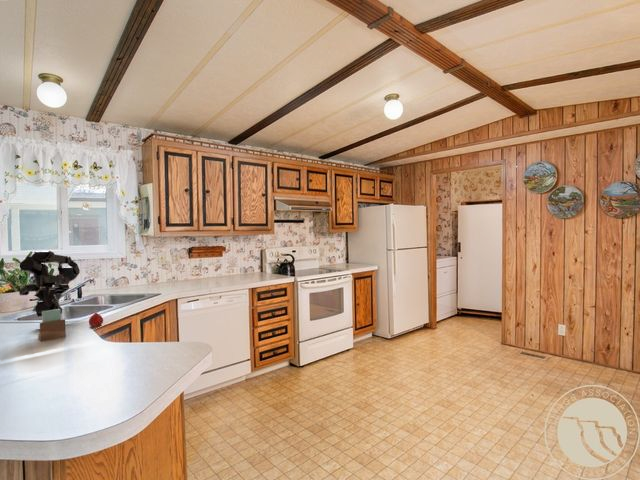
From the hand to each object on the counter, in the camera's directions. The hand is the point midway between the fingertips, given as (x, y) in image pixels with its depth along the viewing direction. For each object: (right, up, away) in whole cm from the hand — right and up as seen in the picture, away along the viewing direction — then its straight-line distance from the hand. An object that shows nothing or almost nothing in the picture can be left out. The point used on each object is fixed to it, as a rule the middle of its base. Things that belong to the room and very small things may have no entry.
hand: (49, 305), depth 159 cm
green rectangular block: (+9, -12, -10) cm, 18 cm away
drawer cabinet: (+6, -13, -7) cm, 16 cm away
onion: (+16, -13, +8) cm, 22 cm away
